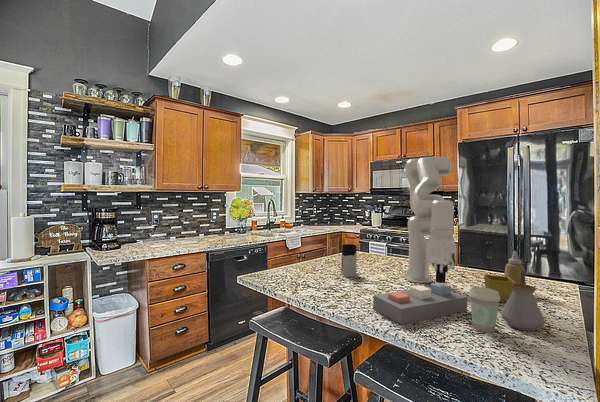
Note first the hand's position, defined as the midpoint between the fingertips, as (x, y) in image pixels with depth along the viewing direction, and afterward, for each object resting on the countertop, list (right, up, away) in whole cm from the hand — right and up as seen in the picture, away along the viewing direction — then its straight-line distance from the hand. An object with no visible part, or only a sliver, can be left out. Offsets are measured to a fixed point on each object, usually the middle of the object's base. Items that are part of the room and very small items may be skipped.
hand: (440, 281), depth 112 cm
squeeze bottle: (+41, -10, +19) cm, 46 cm away
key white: (-9, -6, -4) cm, 12 cm away
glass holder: (-30, -8, +45) cm, 55 cm away
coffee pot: (+22, -10, -12) cm, 27 cm away
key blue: (0, -6, 0) cm, 6 cm away
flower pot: (+27, -10, +8) cm, 30 cm away
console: (-9, -9, -4) cm, 14 cm away
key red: (-18, -7, -8) cm, 21 cm away
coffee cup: (+5, -10, -18) cm, 21 cm away
